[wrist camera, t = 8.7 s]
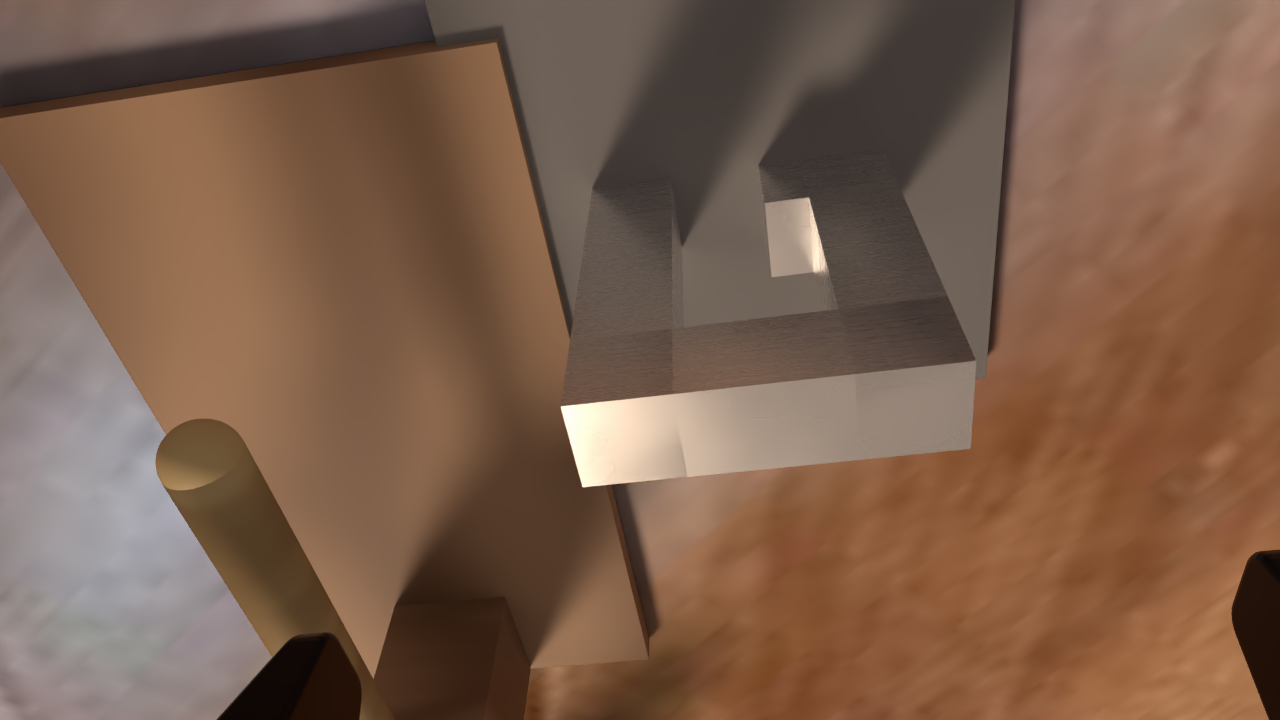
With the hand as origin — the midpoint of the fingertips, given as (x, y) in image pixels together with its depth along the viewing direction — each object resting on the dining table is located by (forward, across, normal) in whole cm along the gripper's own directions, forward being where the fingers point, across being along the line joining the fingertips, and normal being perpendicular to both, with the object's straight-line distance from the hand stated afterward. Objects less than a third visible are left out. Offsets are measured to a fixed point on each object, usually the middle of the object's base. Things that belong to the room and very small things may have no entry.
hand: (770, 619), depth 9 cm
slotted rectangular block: (+9, 0, 0) cm, 9 cm away
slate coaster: (+9, 0, 0) cm, 9 cm away
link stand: (+9, +8, +5) cm, 13 cm away
